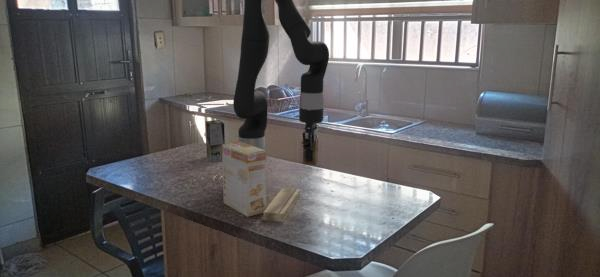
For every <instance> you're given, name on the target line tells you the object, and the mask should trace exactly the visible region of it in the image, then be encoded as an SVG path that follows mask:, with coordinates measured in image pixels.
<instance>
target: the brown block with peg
mask: <svg viewBox="0 0 600 277" xmlns="http://www.w3.org/2000/svg"><path fill="white" fill-rule="evenodd" d="M312 140H313V139H312ZM301 145H303V141H301ZM307 146H310V144H308V143H307ZM318 152H319V137H318V138H315V142H314V143H313V158H312V161H311V162H308V161H305V149H304V148H303V147H302V165H309V166H316V165H317V164H318V160H319V158H318V157H319V155H318V154H319V153H318Z"/></svg>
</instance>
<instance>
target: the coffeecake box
mask: <svg viewBox="0 0 600 277" xmlns="http://www.w3.org/2000/svg"><path fill="white" fill-rule="evenodd" d="M266 152H267V150H266V149H265V150H263V149H260V148H257V147H254V146H251V145H248V144H245V143H242V142H239V141H234V142H230V143H225V144H222V161H221V163H222V185H223V186H222V190H223V191H222V194H223V204H225V205H227V206H228V207H230V208H231V209H233V210H235V211H237V212H238V213H241V214H242V215H243V216H246V218H248V217H252V216H256V215H262V214H263V212H264V211H265V210H266V208H267V166H266V164H267V156H266V155H267V154H266Z"/></svg>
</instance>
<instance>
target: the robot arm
mask: <svg viewBox="0 0 600 277" xmlns="http://www.w3.org/2000/svg"><path fill="white" fill-rule="evenodd" d="M274 1H275V3H276V5H277V10H278V11H277V12H278V21H279V24H280V25H281V27H282V29H283V30H284V32H285V34H286V35H287V37H288V39H290V43H291V46H292V51H293V53H294V56H295V58H296V59H297V61H298V62H299V63H300V64H302V65H304V66H309V68H308V71H306V72H304V73H302V74H301V77H300V94H299V108H298V109H299V110H298V111H299V112H298V113H299V114H298V115H299V117H298V120H299V121H300V122H301V123H305V127H304V128H303V132H302V142H303V144H302V149H303V148H304V149H305V161H308V162H311V161H312V158H313V143H314V142H315V138H318V139H319V137H318V136H319V123H322V122H324V106H325V105H324V102H325V101H324V99H325V98H324V79H325V75H326V73H327V72H326V71H327V68H328V64H329V59H330V50H329V48H328V45H327V44H326V43H325V42H324V41H318V40H316V41H315V40H313V41H312V40H311V41H310V40H309V37H310V35H311V33H312V32H311V28H310V26H309V24H308V23H307V21H306V20H305V18H304V16H303V15H302V14H301V12H300V10H299V8H298V7H297V6H296V4H295V1H294V0H274ZM243 4H244V5H243V19H242V20H243V23H242V33H241V41H240V54H239V55H240V56H239V65H238V72H237V79H236V85H235V90H234V96H233V100H232V101H233V103H232V105H233V111H234V113H235V115H236V116H237V117H238V118H239V119H242V120H244V122H243V123H242V125H241V126H240V127H239V129H238V142H242V143H245V144H248V145H251V146H254V147H257V148H260V149H263V150H266V140H265V138H266V134H265V132H266V130H267V126H268V108H269V107H268V100H267V97H266V95H265V93H264V92H262V91H261V90H257V89H256V82H257V79H258V77H259V75H260V74H259V73H260V72H261V70H262V68H263V67H264V64H265V62H266V60H267V57H268V54H269V48H270V31H269V28H268V25H267V22H266V20H265V17H264V14H263V9H262V8H263V6H262V4H263V0H244V1H243ZM312 139H313V140H312ZM307 143H308V144H310V146H307Z"/></svg>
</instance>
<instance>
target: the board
mask: <svg viewBox="0 0 600 277" xmlns="http://www.w3.org/2000/svg"><path fill="white" fill-rule="evenodd" d="M300 196H301V190H300V189H297V188H296V189H295V188H284V187H282V188H280V190H279V192H278V193H277V194H276V196H275V197H274V198H273V200H272V201H271V202H270V203H269V204H268V206H266V210H265V211H264V212H263V213H262V214H263V216H262V217H263V221H267V222H268V221H270V222H280V223H284V222H285V220H286V219H287V217H288V215H290V213H291V211H292V210H293V208H294V206H296V203H297V202H298V200H299V198H300Z"/></svg>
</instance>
